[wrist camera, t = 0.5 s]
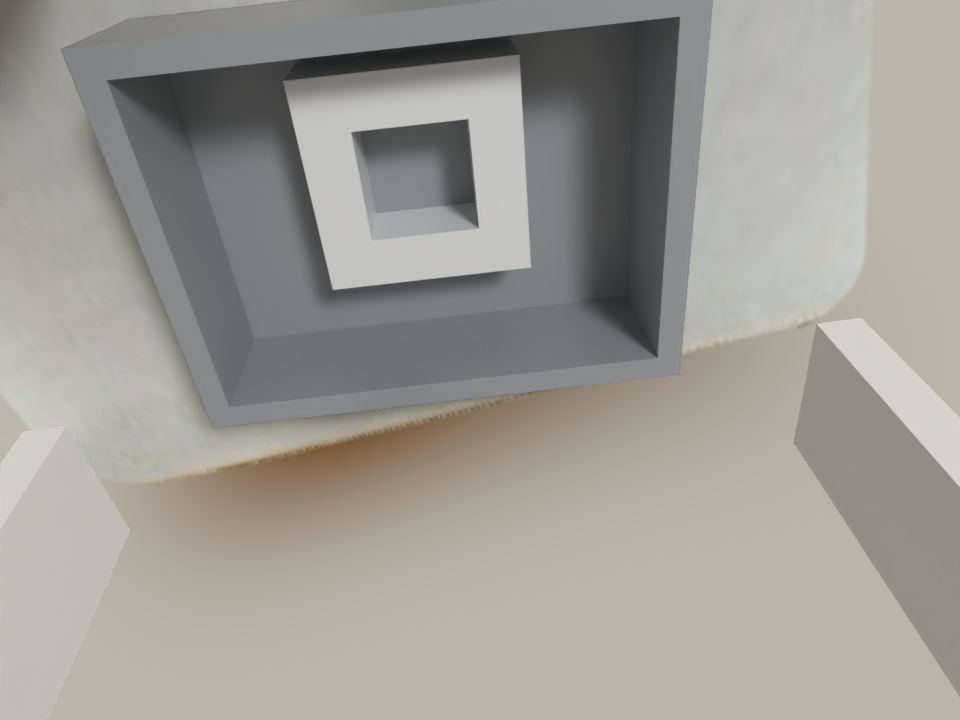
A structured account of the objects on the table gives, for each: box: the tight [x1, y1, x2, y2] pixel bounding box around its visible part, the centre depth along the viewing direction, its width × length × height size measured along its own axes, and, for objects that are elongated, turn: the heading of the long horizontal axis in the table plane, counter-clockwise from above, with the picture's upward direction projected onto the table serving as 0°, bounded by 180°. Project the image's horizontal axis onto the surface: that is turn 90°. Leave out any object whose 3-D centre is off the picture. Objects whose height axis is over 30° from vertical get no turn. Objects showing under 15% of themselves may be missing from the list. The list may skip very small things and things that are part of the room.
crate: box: [61, 0, 713, 428], centre depth 33 cm, size 18×24×7 cm
